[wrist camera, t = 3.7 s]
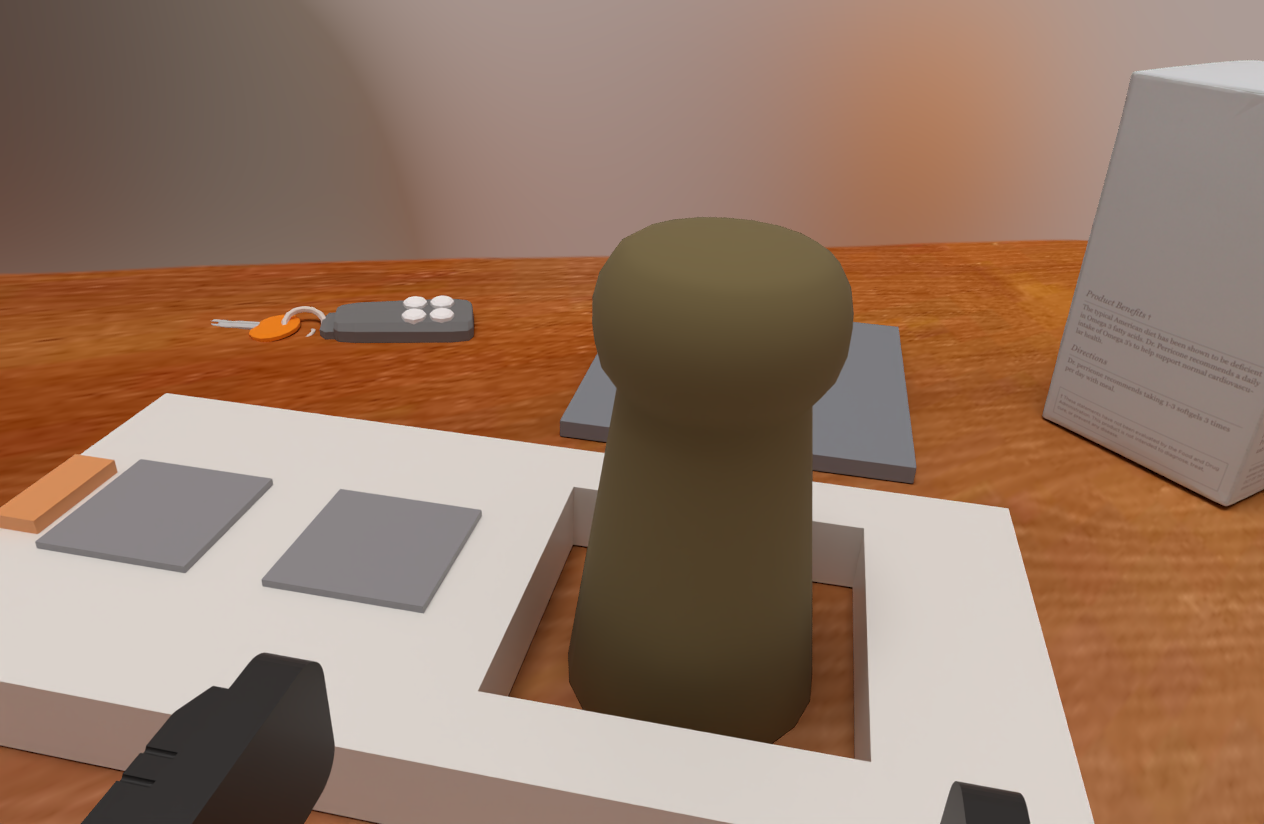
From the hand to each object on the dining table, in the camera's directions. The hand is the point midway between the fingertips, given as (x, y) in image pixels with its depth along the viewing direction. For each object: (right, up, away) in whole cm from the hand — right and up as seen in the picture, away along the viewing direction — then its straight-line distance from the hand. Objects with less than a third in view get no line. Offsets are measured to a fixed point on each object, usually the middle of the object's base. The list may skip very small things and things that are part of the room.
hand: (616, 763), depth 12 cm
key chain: (-13, +7, +29) cm, 32 cm away
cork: (+2, -2, +12) cm, 12 cm away
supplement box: (+20, +3, +23) cm, 31 cm away
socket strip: (-3, -1, +12) cm, 13 cm away
